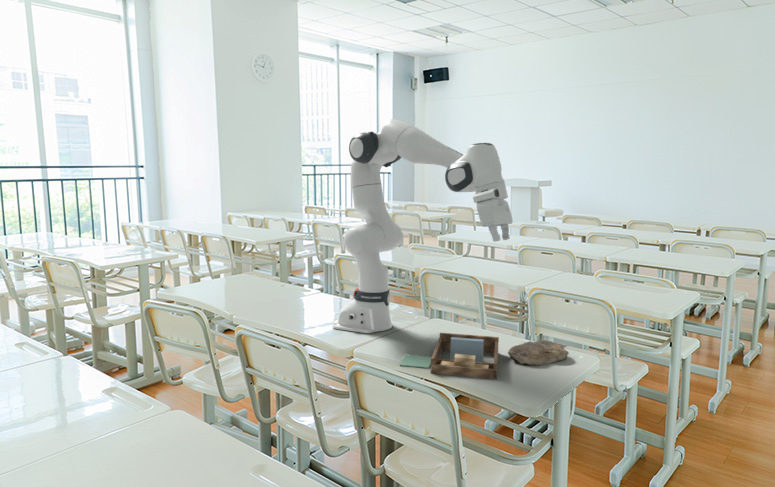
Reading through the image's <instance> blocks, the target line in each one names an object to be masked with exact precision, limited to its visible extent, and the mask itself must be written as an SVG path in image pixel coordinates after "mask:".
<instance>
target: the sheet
mask: <svg viewBox="0 0 775 487" xmlns="http://www.w3.org/2000/svg"><path fill="white" fill-rule="evenodd" d="M483 345H484V340H483V339H470V338H457V337H451V351H450V355H449V357H450V359H449V360H454V357H455V354H464V355H475V362H483V363H484V353H483Z"/></svg>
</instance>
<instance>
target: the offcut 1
mask: <svg viewBox="0 0 775 487" xmlns="http://www.w3.org/2000/svg"><path fill="white" fill-rule="evenodd" d="M440 365H451V366H456V365H454V362H450V361H441V364H440Z"/></svg>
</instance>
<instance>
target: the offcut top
mask: <svg viewBox="0 0 775 487" xmlns="http://www.w3.org/2000/svg"><path fill="white" fill-rule="evenodd" d="M454 365H456V366H467V367H475V355H464V354H455V357H454Z"/></svg>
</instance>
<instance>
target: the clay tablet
mask: <svg viewBox="0 0 775 487" xmlns="http://www.w3.org/2000/svg"><path fill="white" fill-rule="evenodd" d="M507 354H508V355H509V357H511V358H512V359H514V360H515V361H516V362H517V363H519V364H521V365H524V364H527V365H528V366H544V365H548V364H553V363H555V362H558V361H561V360H566V359H567V358H568V355H569V351H568V350H567V349H566V348H565V347H564V346H563V345H562V344H558V343H556V342H553V341H551V340H546V339H537V340H536V341H530V340H529V341H527V342H523V343H522V344H517V345H514V346H511V348H509V349H508V352H507Z"/></svg>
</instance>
